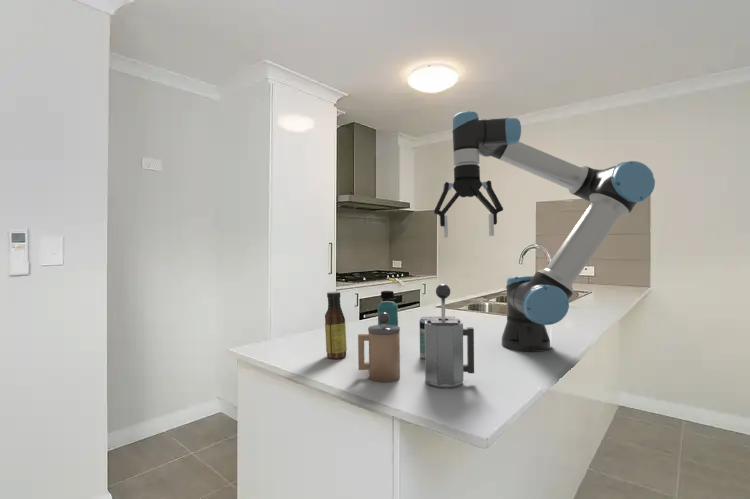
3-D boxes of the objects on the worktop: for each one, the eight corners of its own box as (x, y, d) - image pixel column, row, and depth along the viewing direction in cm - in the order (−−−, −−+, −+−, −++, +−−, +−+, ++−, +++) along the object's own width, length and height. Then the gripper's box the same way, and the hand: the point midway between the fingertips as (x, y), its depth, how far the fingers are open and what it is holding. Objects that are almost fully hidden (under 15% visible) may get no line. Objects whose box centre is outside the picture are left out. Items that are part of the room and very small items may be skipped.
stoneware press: (400, 372, 108) (399, 309, 108) (400, 382, 100) (399, 315, 100) (360, 371, 109) (360, 309, 109) (357, 382, 101) (356, 315, 101)
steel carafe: (470, 376, 104) (470, 316, 104) (476, 389, 95) (476, 323, 95) (424, 375, 105) (424, 316, 105) (426, 388, 96) (425, 323, 96)
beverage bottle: (397, 358, 121) (396, 292, 120) (375, 357, 122) (374, 292, 122) (400, 352, 127) (399, 289, 127) (379, 352, 128) (379, 289, 128)
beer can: (437, 356, 123) (436, 317, 123) (434, 360, 118) (433, 319, 118) (421, 354, 124) (421, 316, 124) (418, 359, 120) (417, 319, 120)
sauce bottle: (350, 355, 125) (349, 291, 125) (340, 360, 119) (339, 293, 119) (332, 352, 128) (331, 290, 128) (321, 358, 122) (320, 293, 122)
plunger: (455, 359, 103) (454, 282, 103) (458, 367, 97) (457, 285, 96) (430, 359, 104) (429, 283, 103) (431, 366, 97) (430, 285, 97)
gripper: (505, 166, 124) (507, 235, 124) (423, 169, 124) (425, 238, 125) (512, 161, 116) (514, 234, 117) (426, 165, 117) (428, 237, 117)
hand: (468, 236), depth 121 cm, fingers open, 13 cm apart
